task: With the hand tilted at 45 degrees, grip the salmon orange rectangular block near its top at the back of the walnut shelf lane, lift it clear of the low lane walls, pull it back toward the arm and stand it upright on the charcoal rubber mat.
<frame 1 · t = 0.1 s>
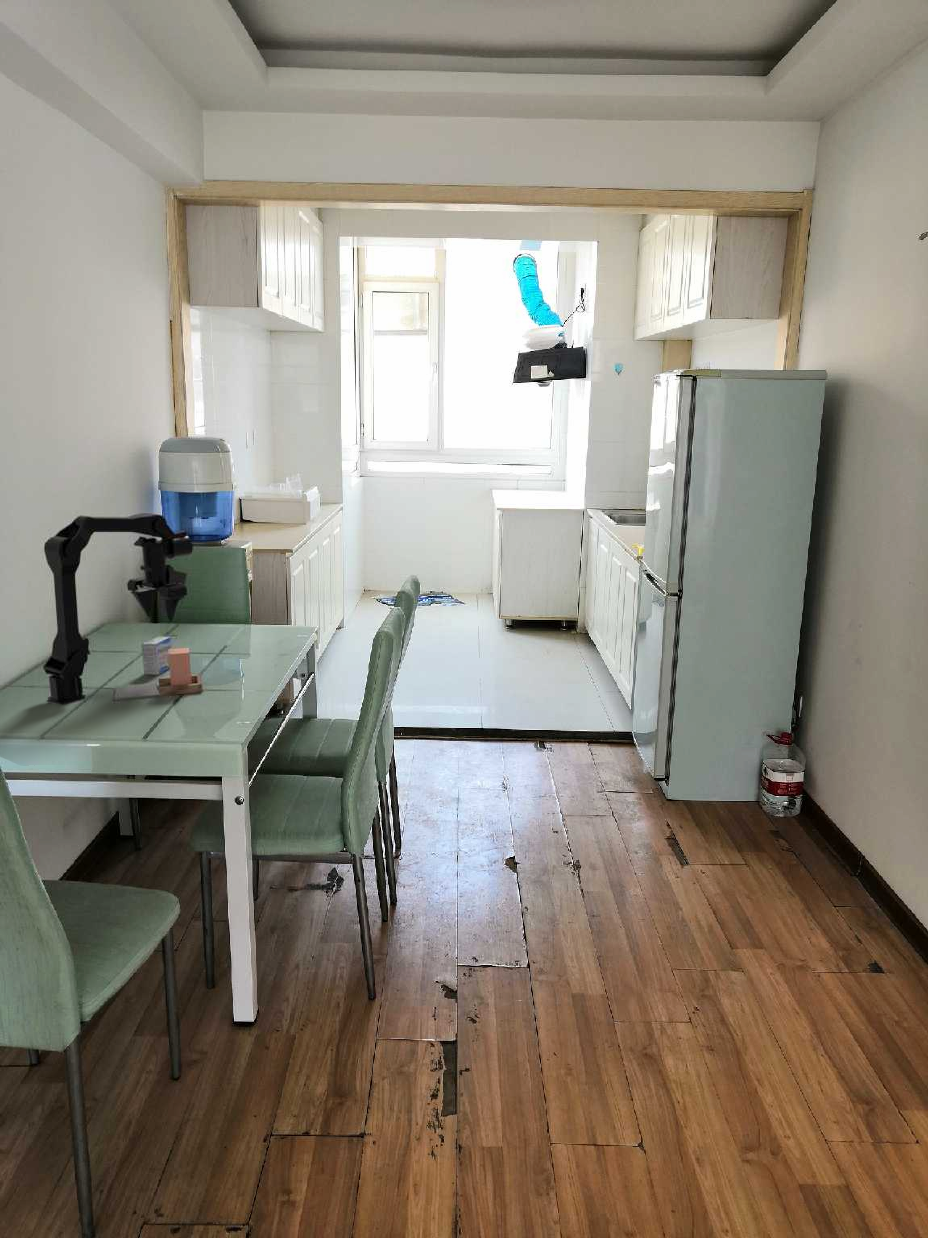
hand: (159, 619, 248), 15 cm above the table, tool pointing down, fingers open, 9 cm apart
medicine box: (158, 671, 253), on the table
salmon orange rectangular block: (181, 688, 238), resting in shelf lane
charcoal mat: (136, 692, 234), on the table
shelf lane: (181, 688, 237), on the table
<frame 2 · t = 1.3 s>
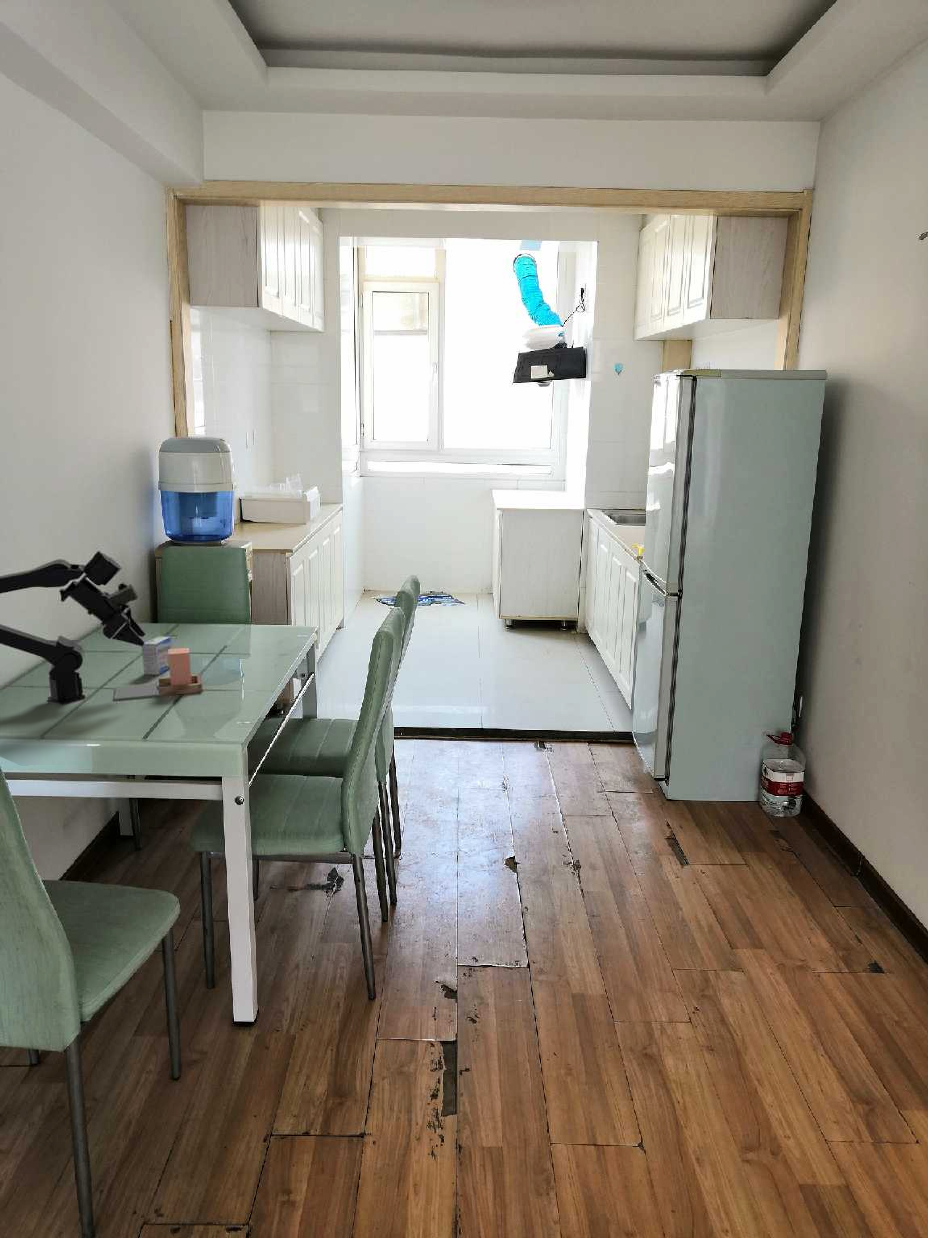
hand: (143, 640, 232), 13 cm above the table, tool tilted 45°, fingers open, 9 cm apart
nothing on the table moved.
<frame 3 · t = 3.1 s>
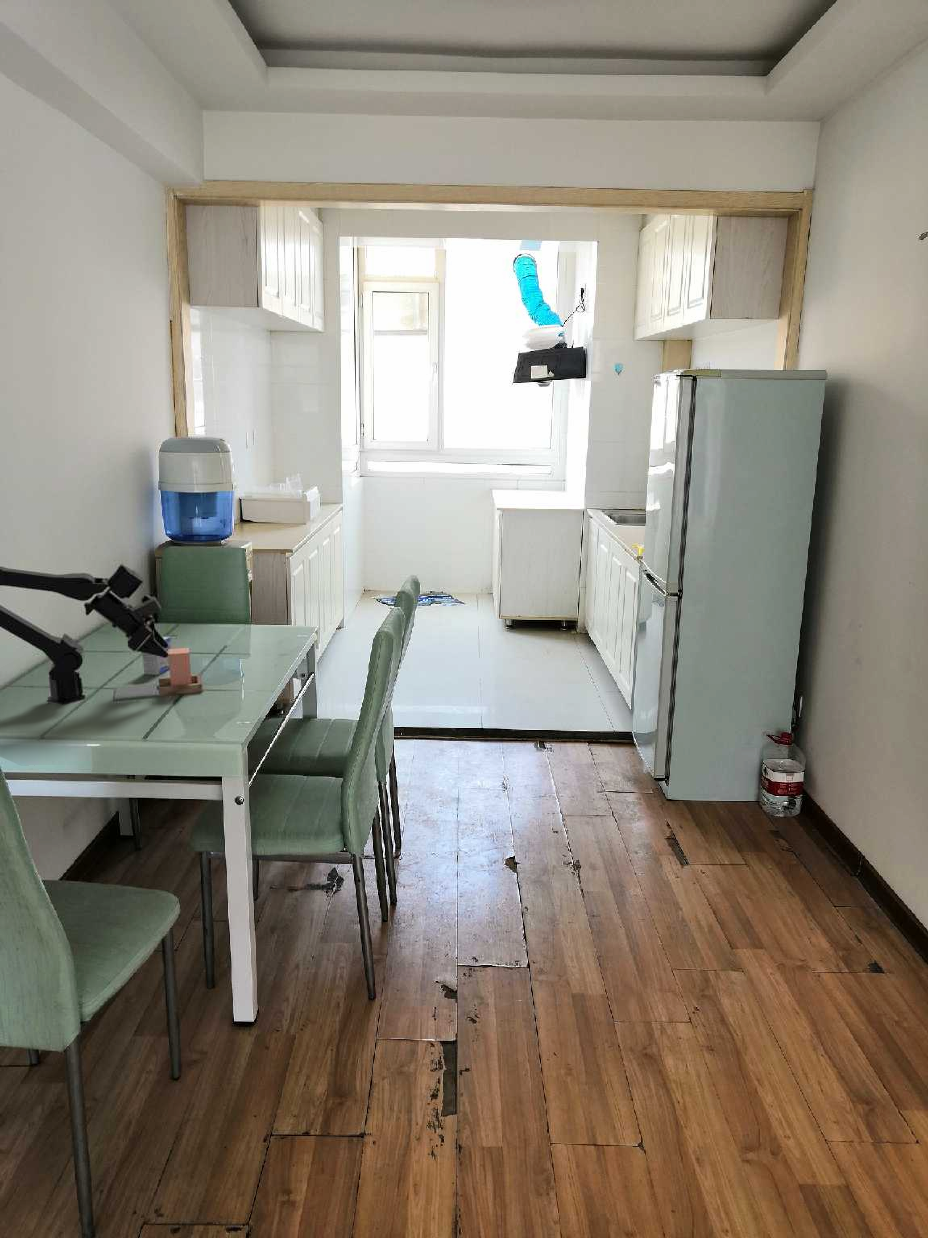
hand: (167, 651, 234), 10 cm above the table, tool tilted 45°, fingers open, 9 cm apart
nothing on the table moved.
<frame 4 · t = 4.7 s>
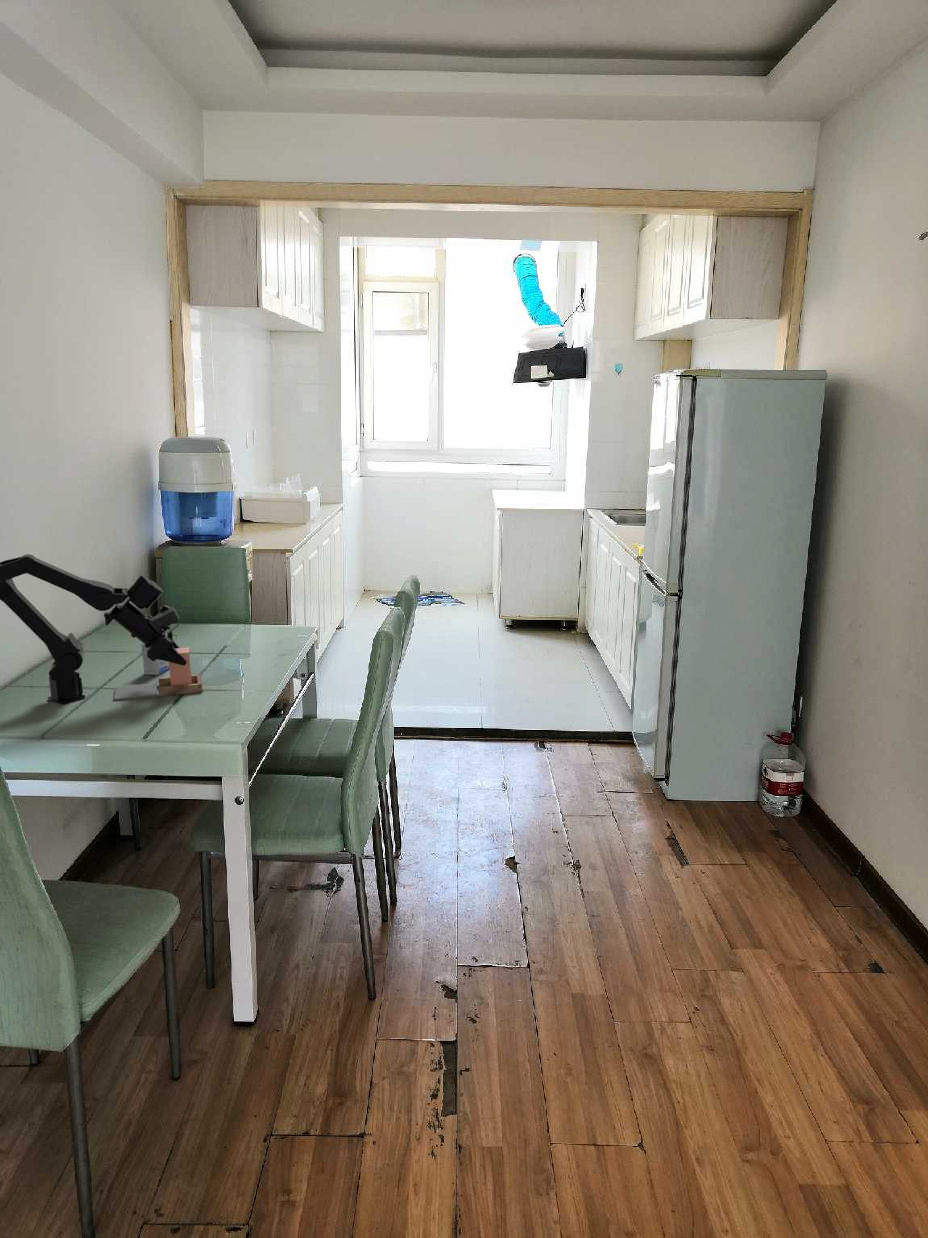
hand: (185, 661, 236), 7 cm above the table, tool tilted 45°, fingers closed on salmon orange rectangular block, 5 cm apart
salmon orange rectangular block: (181, 688, 238), resting in shelf lane, touching gripper
everything else where it was.
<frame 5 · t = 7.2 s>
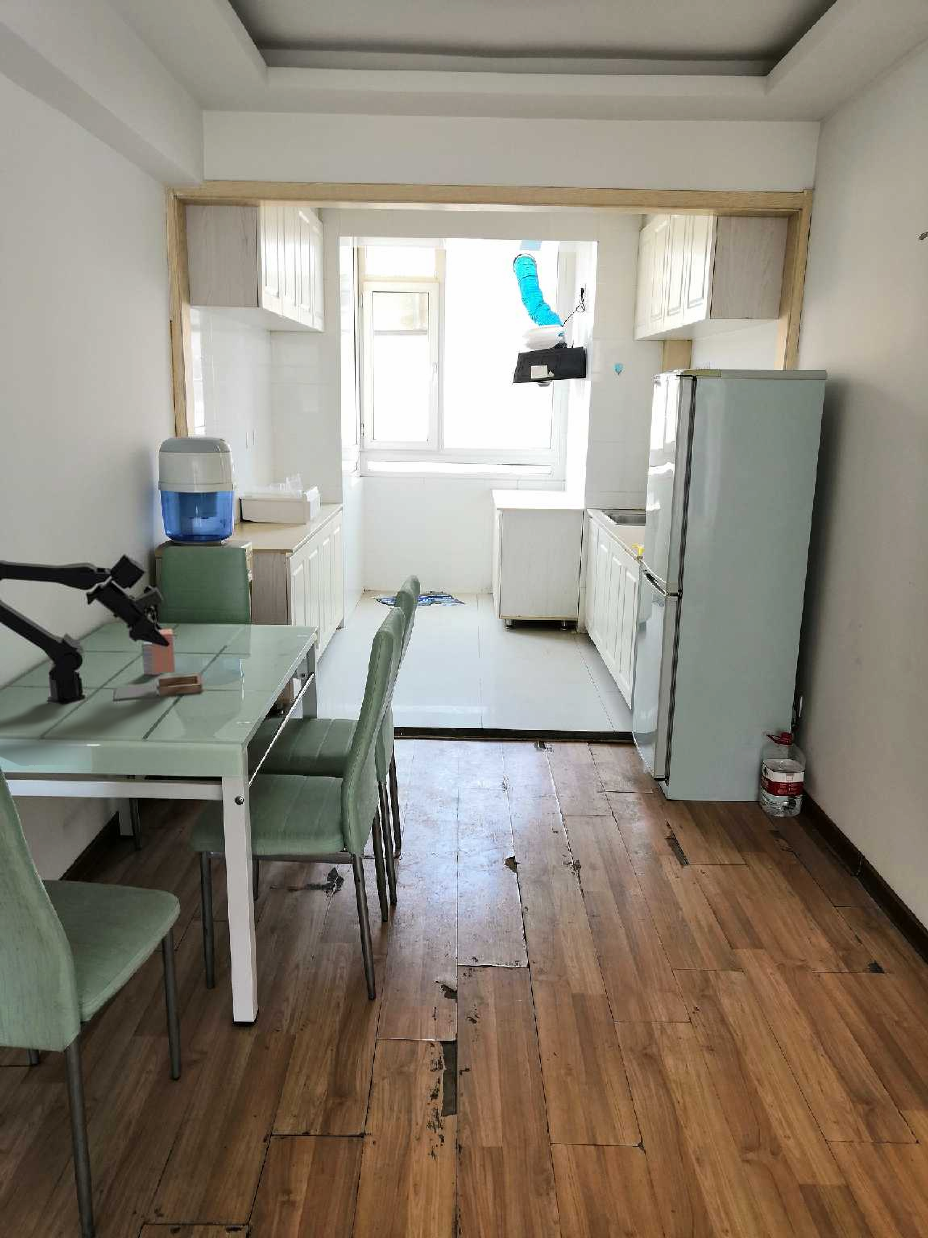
hand: (168, 642, 234), 12 cm above the table, tool tilted 45°, fingers closed on salmon orange rectangular block, 5 cm apart
salmon orange rectangular block: (164, 670, 235), point 5 cm above the table, touching gripper
everything else where it was.
when the fingers open (9 cm above the table, at t = 9.7 s): salmon orange rectangular block drops 1 cm, resting on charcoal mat.
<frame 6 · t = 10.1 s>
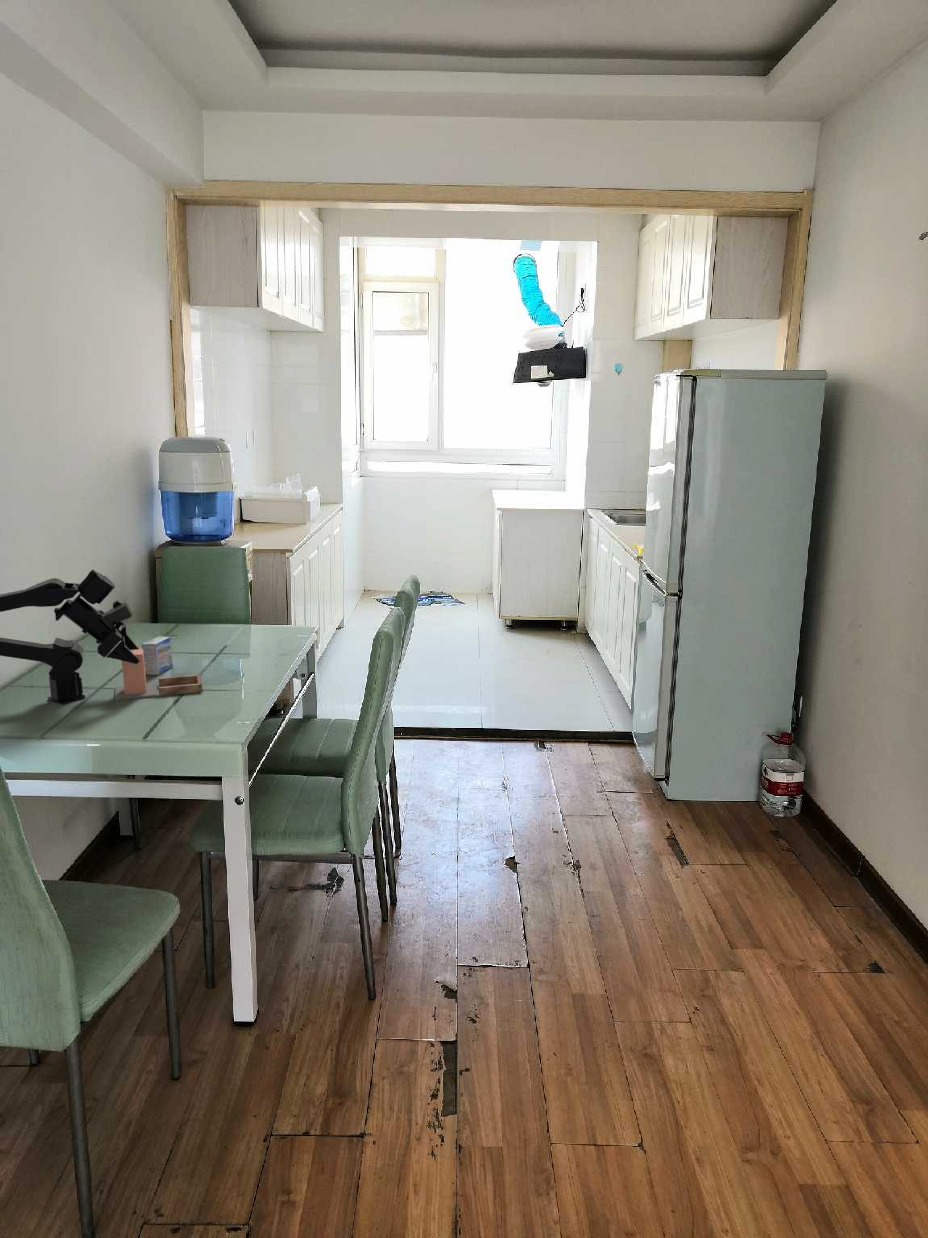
hand: (138, 657, 233), 9 cm above the table, tool tilted 45°, fingers open, 9 cm apart
salmon orange rectangular block: (135, 690, 234), resting on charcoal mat
everything else where it was.
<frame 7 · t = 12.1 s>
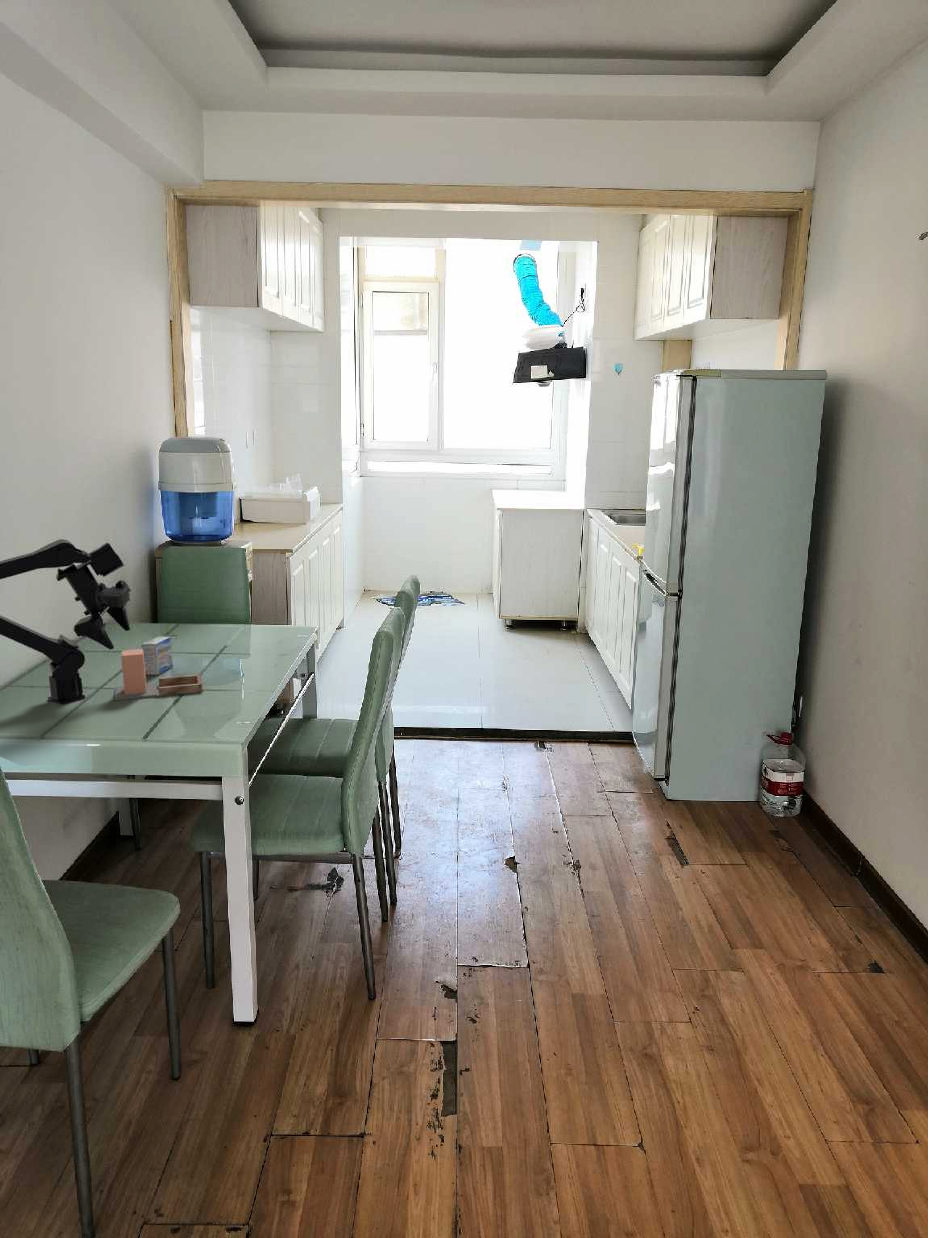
hand: (120, 639, 233), 13 cm above the table, tool tilted 25°, fingers open, 9 cm apart
nothing on the table moved.
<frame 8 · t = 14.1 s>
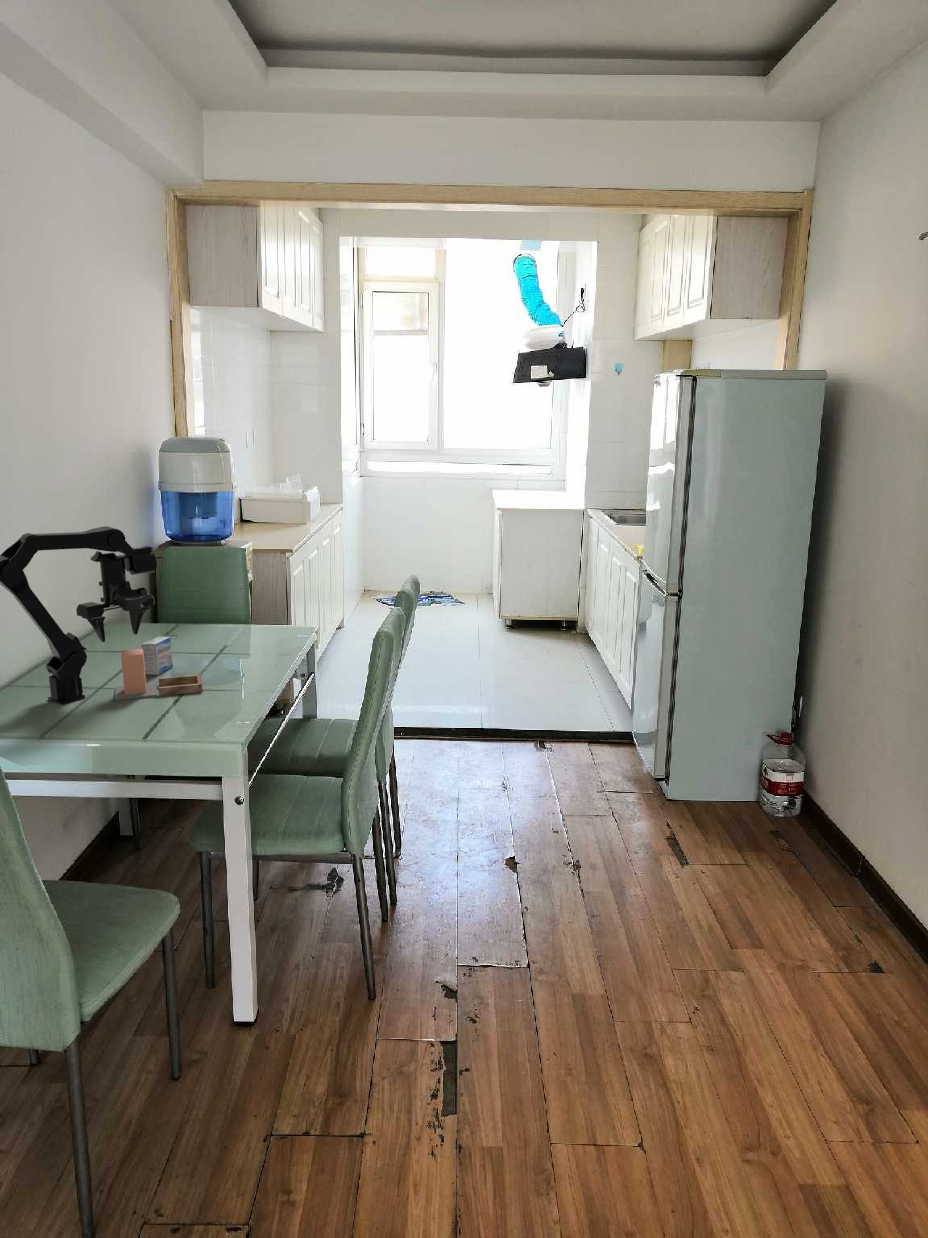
hand: (119, 638, 236), 13 cm above the table, tool pointing down, fingers open, 9 cm apart
nothing on the table moved.
at the end: salmon orange rectangular block 0.0 cm from the target spot, point 0.5 cm above the table; salmon orange rectangular block tilted 0°; the gripper is holding nothing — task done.
